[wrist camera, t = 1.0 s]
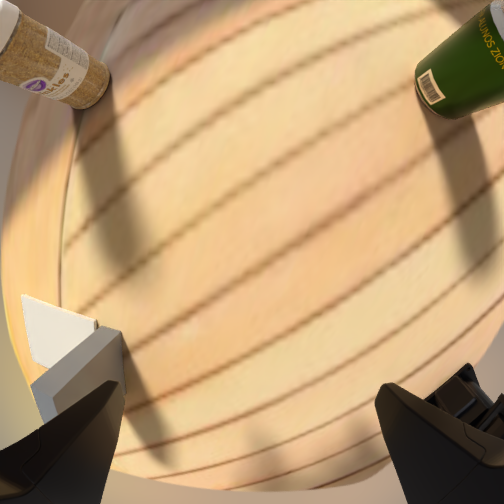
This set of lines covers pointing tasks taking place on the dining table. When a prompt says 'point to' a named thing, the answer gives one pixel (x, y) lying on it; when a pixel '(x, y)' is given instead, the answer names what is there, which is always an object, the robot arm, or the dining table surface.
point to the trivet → (53, 330)
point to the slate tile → (80, 372)
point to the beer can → (466, 67)
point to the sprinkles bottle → (47, 61)
